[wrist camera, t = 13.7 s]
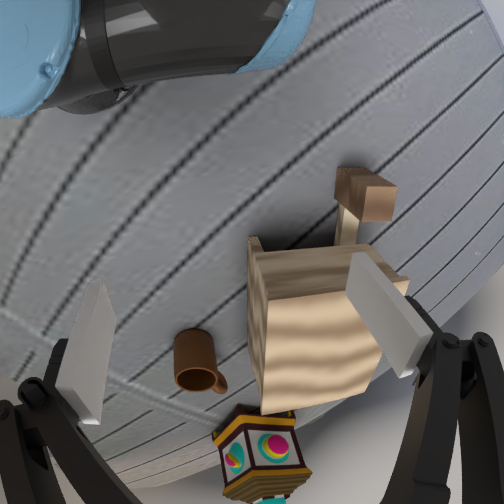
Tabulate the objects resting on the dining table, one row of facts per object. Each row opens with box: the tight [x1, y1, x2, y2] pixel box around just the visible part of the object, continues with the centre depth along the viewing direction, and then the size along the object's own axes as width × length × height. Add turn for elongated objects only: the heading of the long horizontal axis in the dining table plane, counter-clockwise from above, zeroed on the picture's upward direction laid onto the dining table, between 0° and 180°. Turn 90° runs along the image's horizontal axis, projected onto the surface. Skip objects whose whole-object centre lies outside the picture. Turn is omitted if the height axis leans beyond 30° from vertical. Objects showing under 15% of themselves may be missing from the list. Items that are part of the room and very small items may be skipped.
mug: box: [174, 329, 228, 394], centre depth 53 cm, size 12×8×9 cm, turn 37°
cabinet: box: [247, 236, 410, 415], centre depth 48 cm, size 25×20×16 cm
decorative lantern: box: [212, 404, 312, 504], centre depth 63 cm, size 20×20×30 cm
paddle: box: [334, 167, 398, 246], centre depth 47 cm, size 27×5×9 cm, turn 0°
